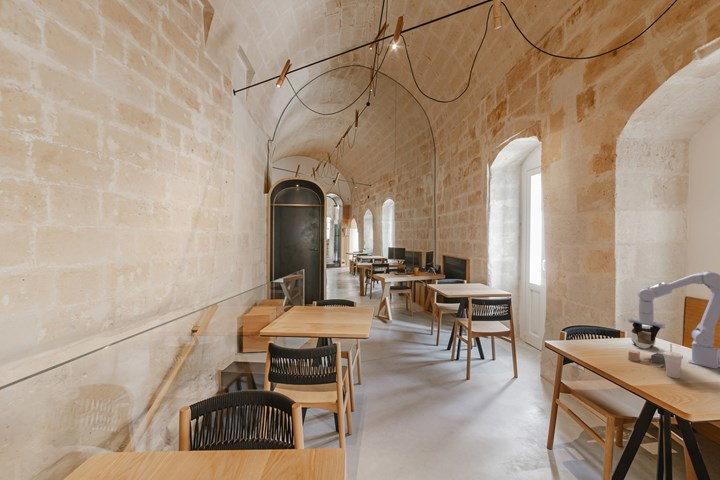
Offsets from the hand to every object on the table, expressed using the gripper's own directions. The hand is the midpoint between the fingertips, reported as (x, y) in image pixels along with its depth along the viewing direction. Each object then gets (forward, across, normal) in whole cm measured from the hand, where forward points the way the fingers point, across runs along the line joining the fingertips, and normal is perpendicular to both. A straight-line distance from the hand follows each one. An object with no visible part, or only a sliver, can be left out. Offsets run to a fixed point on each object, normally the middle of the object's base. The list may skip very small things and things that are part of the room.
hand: (646, 339), depth 174 cm
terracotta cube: (+8, 0, +12) cm, 15 cm away
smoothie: (+9, -18, +22) cm, 29 cm away
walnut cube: (+2, 0, 0) cm, 2 cm away
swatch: (+8, -6, +12) cm, 16 cm away
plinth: (+9, -8, +5) cm, 13 cm away
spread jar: (+9, +8, -17) cm, 21 cm away
